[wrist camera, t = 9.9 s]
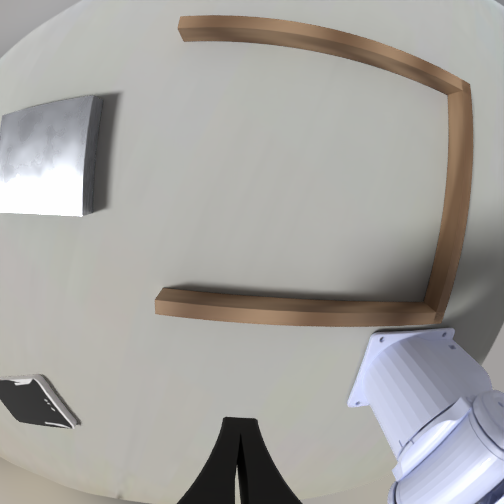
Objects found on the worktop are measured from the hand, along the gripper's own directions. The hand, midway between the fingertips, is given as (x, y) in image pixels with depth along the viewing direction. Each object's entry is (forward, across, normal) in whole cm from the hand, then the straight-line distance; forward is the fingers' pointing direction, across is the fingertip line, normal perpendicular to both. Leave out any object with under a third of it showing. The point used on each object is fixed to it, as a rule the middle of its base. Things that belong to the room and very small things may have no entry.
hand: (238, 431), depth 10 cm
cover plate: (+10, +16, -11) cm, 22 cm away
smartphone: (+10, +26, +16) cm, 32 cm away
